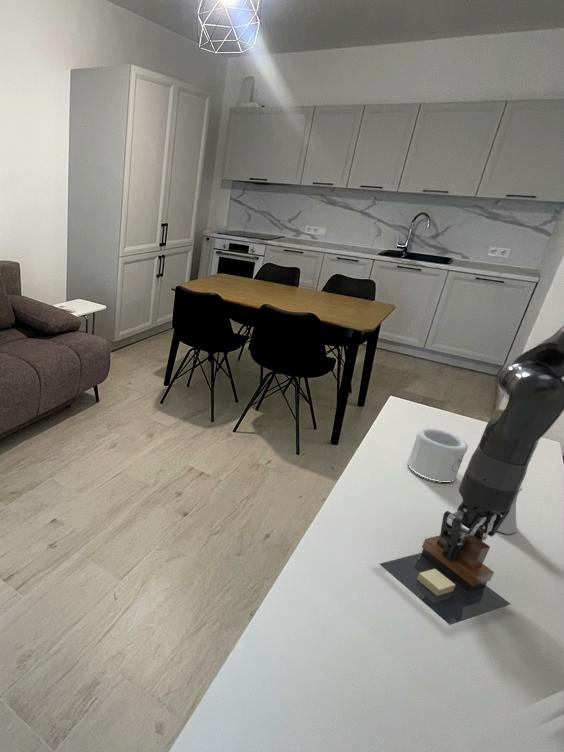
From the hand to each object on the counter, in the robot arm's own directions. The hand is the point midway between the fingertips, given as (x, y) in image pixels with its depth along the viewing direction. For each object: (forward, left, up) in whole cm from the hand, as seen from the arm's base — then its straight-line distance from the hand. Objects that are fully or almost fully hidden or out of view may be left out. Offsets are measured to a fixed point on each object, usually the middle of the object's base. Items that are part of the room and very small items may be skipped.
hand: (458, 555), depth 90 cm
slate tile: (+5, +2, -4) cm, 7 cm away
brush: (0, 0, -3) cm, 3 cm away
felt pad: (+7, +2, -3) cm, 8 cm away
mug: (-31, -28, -4) cm, 42 cm away
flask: (-25, -8, -5) cm, 27 cm away
